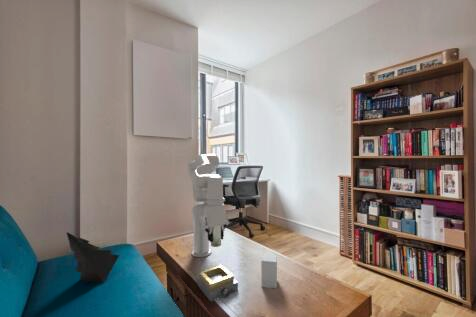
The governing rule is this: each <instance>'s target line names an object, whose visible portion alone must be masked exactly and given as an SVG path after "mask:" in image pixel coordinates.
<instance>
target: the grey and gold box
mask: <svg viewBox="0 0 476 317" xmlns="http://www.w3.org/2000/svg"><path fill="white" fill-rule="evenodd" d="M198 274H199V275H198ZM198 274H197V275H195V276H196V277H195V278H196V280H195V281H196V283H197V284H198V285H197V284H196V283H195V284H196V285H197V287H198V288H199V289H200V290H201V291H202V293H203V294H204V295H205V296H206V298H207V299H208V300H209V302H210V303H212V302H214V301H216V300H215V299H217V298H219V299H221V298H227V297H229V295H231V294H233V293H235V291H236V292H237V291H239V283H238V281H237V280H236V279H235V275H234V274H233V273H232V272H230V271H229V270H228V269H227V268H226V267H225V266H223V265H222V264H220V265H217V266H215V267H211V268H208V269H205V270H202V271H199V273H198ZM232 292H233V293H232ZM230 293H231V294H230ZM222 296H224V297H222ZM220 297H221V298H220ZM217 300H218V299H217Z"/></svg>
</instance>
